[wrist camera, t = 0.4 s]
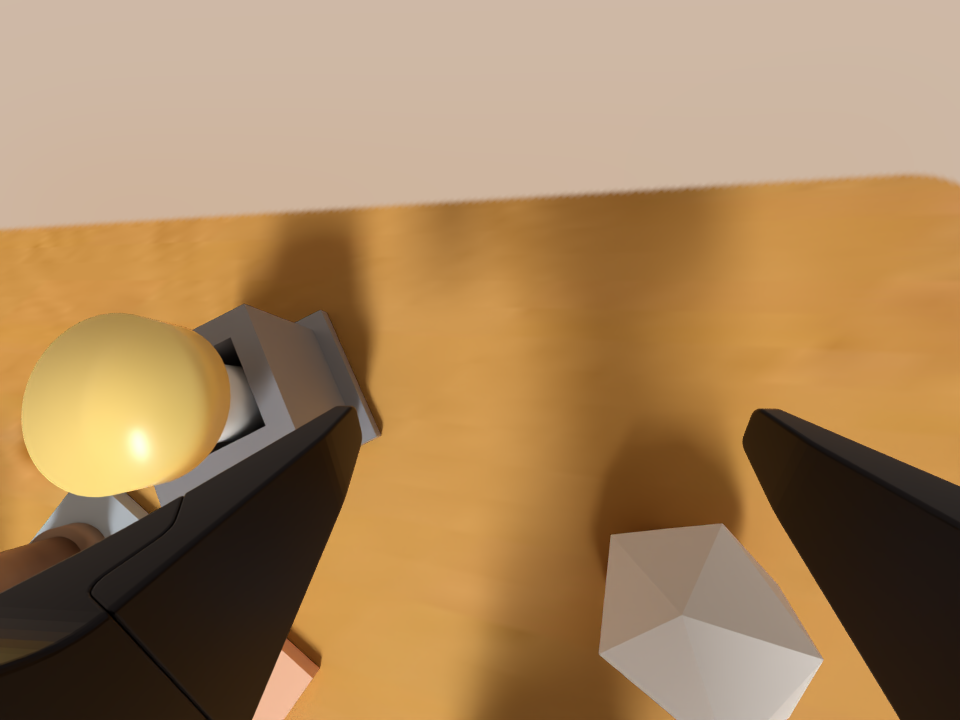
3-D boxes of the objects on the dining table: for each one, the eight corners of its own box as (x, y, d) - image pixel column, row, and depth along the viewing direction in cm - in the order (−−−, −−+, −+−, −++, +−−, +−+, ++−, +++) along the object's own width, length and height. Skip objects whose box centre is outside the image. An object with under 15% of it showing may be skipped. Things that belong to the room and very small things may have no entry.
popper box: (381, 435, 23) (327, 448, 16) (255, 498, 23) (149, 538, 16) (326, 312, 24) (255, 276, 18) (207, 372, 25) (89, 360, 18)
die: (564, 510, 22) (560, 716, 14) (704, 453, 18) (809, 697, 10) (642, 584, 24) (678, 804, 16) (785, 548, 20) (929, 819, 12)
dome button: (325, 430, 20) (217, 445, 12) (220, 483, 20) (49, 529, 12) (281, 326, 21) (156, 282, 13) (181, 377, 21) (1, 362, 13)
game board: (319, 668, 22) (312, 678, 21) (226, 800, 21) (215, 816, 20) (99, 468, 24) (85, 470, 24) (11, 583, 24) (-7, 589, 23)
